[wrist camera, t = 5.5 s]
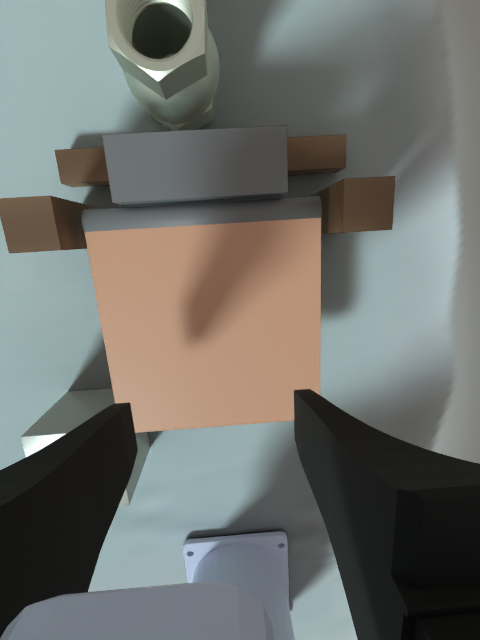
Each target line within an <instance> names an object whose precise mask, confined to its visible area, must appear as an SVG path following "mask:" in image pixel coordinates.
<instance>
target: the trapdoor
mask: <svg viewBox="0 0 480 640" xmlns="http://www.w3.org/2000/svg"><path fill="white" fill-rule="evenodd" d="M102 138H103V145H104V151H105V158H106V164H107V171H108V177H109V184H110V190H111V197H112V202H113V203H116V204H119V205H122V206H125V207H122V208H105V209H88V210H83V212H82V216H81V220H82V226H83V230H84V232H85V238H86V243H87V249H88V254H89V260H90V266H91V271H92V277H93V282H94V288H95V293H96V299H97V305H98V310H99V316H100V321H101V327H102V333H103V338H104V344H105V349H106V355H107V361H108V366H109V372H110V377H111V383H112V388H113V394H114V400H115V403H129V402H130V404H131V410H132V416H133V422H134V429H135V433H139V432H152V431H165V430H177V429H190V428H203V427H216V426H229V425H242V424H254V423H267V422H280V421H293V420H294V390H301V389H311V390H313V391H314V392H316V393H317V394H319V395H320V327H321V215H322V203H321V199H320V197H319V196H309V197H292V198H281V197H282V196H284V195H285V194H286V193H288V169H287V125H280V126H261V127H242V128H223V129H204V130H185V131H166V132H147V133H128V134H109V135H102Z"/></svg>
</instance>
